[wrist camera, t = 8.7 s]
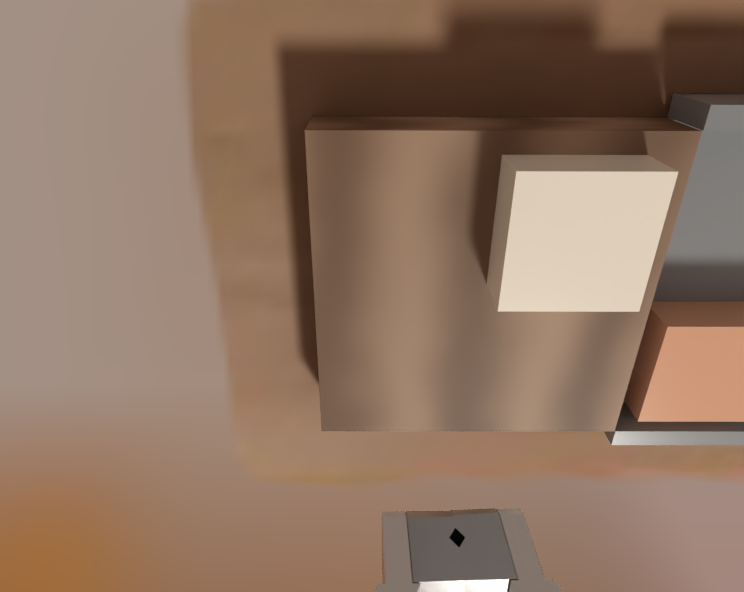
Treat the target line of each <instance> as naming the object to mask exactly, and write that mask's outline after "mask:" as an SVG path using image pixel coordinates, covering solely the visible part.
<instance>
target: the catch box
mask: <svg viewBox="0 0 744 592" xmlns="http://www.w3.org/2000/svg"><path fill="white" fill-rule="evenodd" d="M667 118H669V119H672V120H674V121H677V122H680V123H682V124H685V125H688V126H690V127H693V128H695V129H698V130H701V131H702V133H701V137H700V140H699V144H698V147H697V151H696V154H695V157H694V161H693V164H692V168H691V171H690V175H689V178H688V181H687V185H686V188H685V192H684V195H683V199H682V202H681V205H680V209H679V212H678V216H677V219H676V223H675V226H674V229H673V233H672V236H671V240H670V243H669V247H668V250H667V253H666V257H665V260H664V264H663V267H662V271H661V274H660V277H659V281H658V284H657V288H656V291H655V295H654V298H653V301H670V302H744V94H673V96H672V100H671V104H670V108H669V112H668V116H667ZM604 432H605V434H606V436H607V438H608V440H609V441H610V443H611V445H744V422H638V421H637V420H636V418H635V416H634V415H633V413H632V412H631V410H630V409H629V407H628V405H627V404H626V402H625V401H623V404H622V408H621V411H620V415H619V418H618V421H617V425H616V428H615V431H604Z"/></svg>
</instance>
